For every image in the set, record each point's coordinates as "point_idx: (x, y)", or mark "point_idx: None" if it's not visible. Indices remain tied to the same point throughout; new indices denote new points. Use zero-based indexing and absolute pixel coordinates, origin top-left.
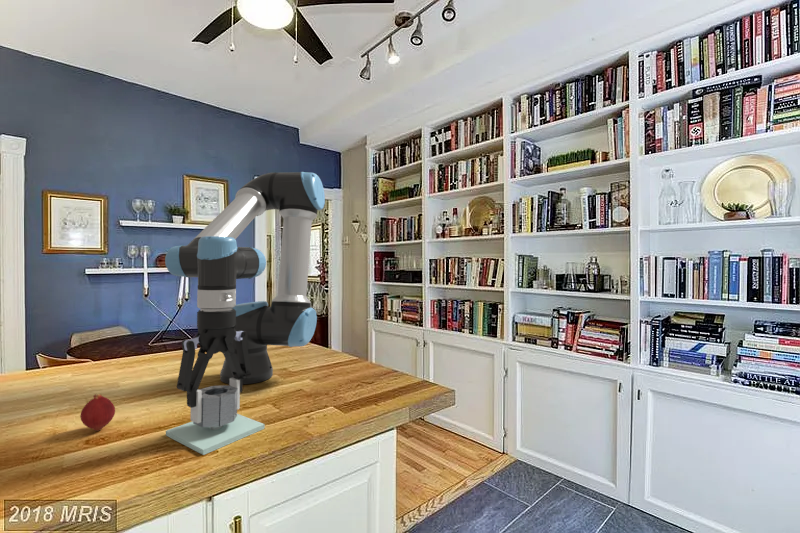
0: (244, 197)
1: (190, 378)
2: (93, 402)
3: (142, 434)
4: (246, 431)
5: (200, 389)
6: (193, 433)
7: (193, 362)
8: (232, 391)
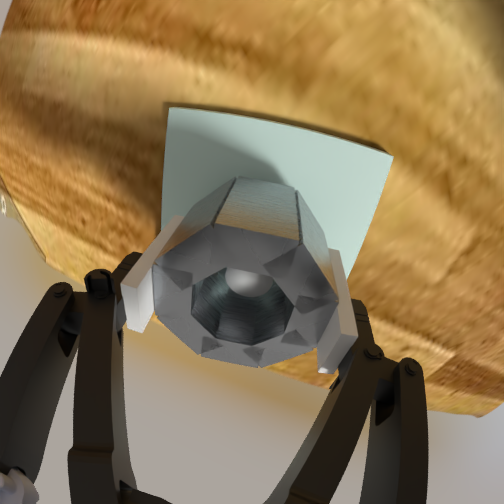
0: None
1: (69, 365)
2: None
3: (150, 43)
4: None
5: (218, 230)
6: (198, 200)
7: (49, 429)
8: (272, 355)
